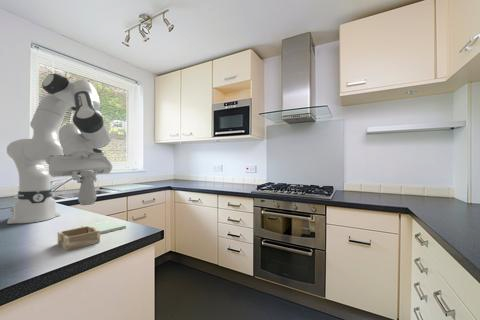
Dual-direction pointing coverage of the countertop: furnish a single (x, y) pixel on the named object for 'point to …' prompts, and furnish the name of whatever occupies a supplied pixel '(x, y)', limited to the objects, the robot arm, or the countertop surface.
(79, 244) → the wooden box
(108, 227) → the sage mat
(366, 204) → the countertop surface
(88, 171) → the salt shaker
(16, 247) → the countertop surface
